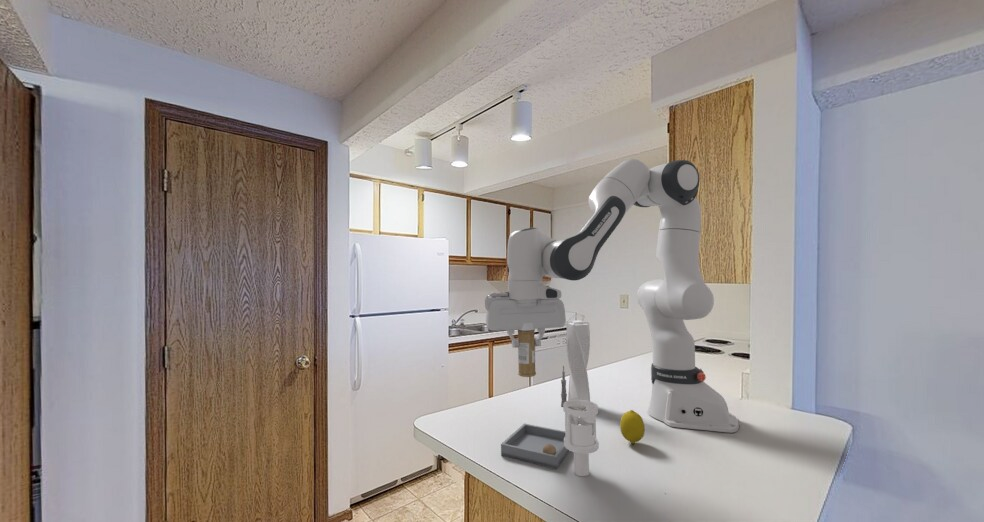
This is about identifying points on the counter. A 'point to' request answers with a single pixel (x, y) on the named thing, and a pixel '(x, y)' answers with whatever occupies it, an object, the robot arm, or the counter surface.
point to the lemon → (632, 426)
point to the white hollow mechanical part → (581, 433)
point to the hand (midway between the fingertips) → (526, 346)
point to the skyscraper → (577, 362)
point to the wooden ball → (549, 449)
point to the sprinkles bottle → (526, 350)
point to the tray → (535, 445)
